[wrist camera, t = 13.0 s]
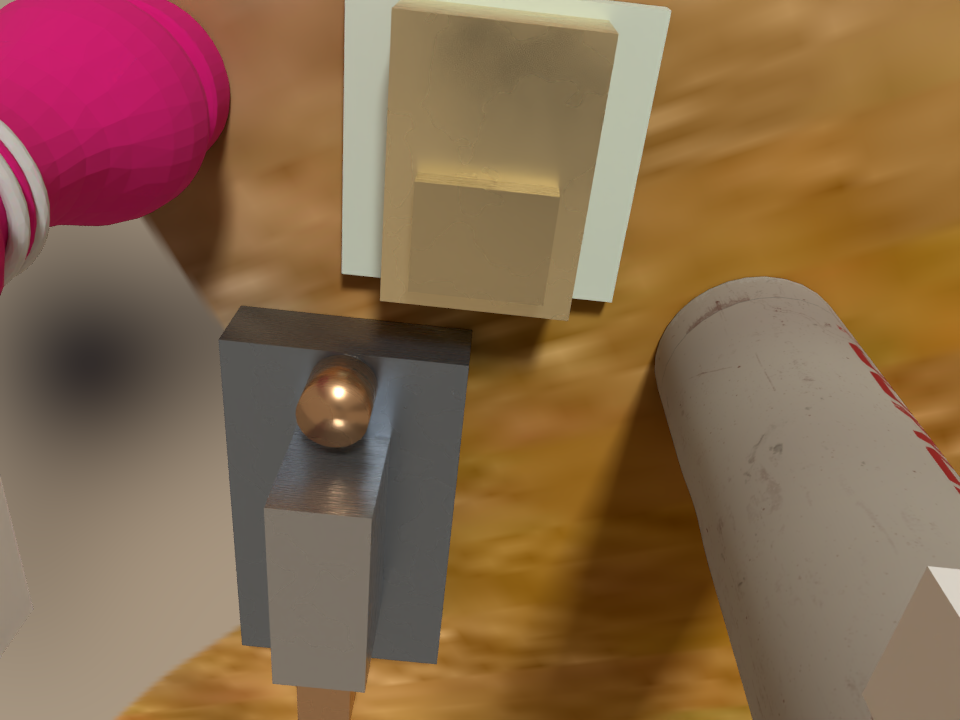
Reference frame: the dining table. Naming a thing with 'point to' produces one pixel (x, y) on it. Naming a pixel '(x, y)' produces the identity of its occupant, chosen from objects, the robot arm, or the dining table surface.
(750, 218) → the dining table surface
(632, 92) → the rubber mat
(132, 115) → the pepper mill
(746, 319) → the thermos bottle
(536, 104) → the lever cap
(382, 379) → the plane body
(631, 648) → the dining table surface
